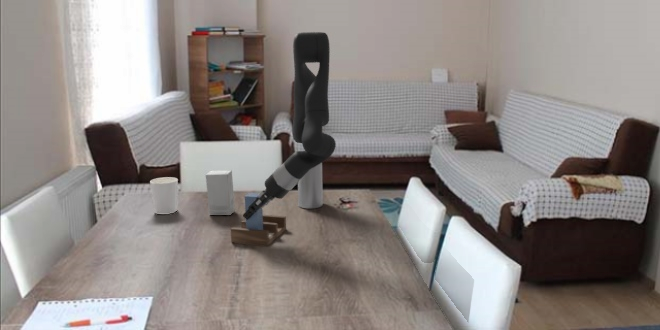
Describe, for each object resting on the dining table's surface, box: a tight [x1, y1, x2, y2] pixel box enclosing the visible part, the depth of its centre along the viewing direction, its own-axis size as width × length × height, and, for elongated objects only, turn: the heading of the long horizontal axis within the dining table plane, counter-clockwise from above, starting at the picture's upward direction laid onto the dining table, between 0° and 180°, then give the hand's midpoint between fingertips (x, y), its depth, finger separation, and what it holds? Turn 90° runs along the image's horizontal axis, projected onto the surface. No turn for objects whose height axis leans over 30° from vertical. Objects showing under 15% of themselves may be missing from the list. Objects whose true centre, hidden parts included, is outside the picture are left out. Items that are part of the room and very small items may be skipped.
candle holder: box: [149, 176, 179, 213], centre depth 216 cm, size 10×10×12 cm
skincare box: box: [205, 170, 236, 216], centre depth 212 cm, size 8×7×16 cm
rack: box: [230, 214, 287, 247], centre depth 189 cm, size 16×12×4 cm
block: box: [244, 192, 264, 230], centre depth 184 cm, size 4×4×12 cm
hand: (248, 215), depth 185 cm, fingers closed on block, 4 cm apart
